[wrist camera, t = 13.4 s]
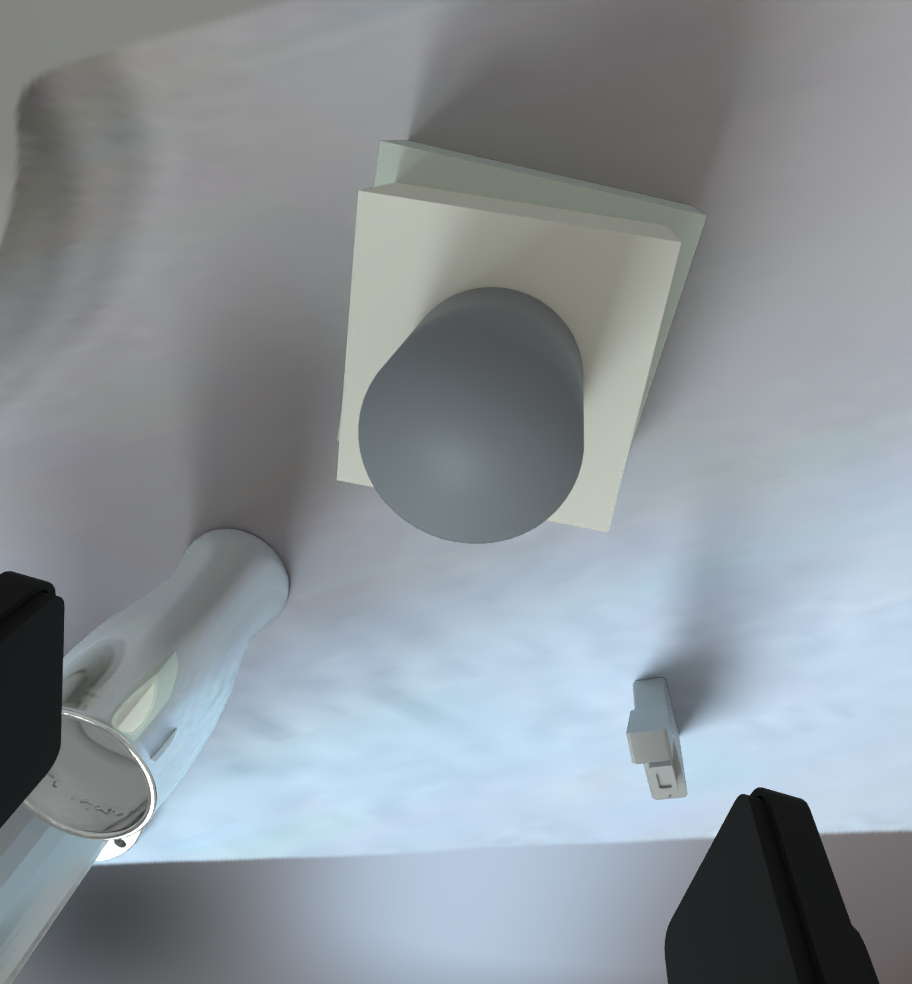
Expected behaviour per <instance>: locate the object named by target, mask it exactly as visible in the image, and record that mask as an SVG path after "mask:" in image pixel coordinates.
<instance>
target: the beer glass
mask: <svg viewBox="0 0 912 984" xmlns="http://www.w3.org/2000/svg"><path fill="white" fill-rule="evenodd" d="M288 592H289V579H288V575H287V571H286V569H285V566H284V564H283V562H282V561H281V559H280V558H279V556H278V555H277V554H276V552H275V551H274V550H273V549H272V548H271V547H270V546H269V545H268V544H266V543H265V542H264V541H262V540H261V539H259V538H258V537H256V536H254V535H252V534H250V533H247V532H244V531H241V530H236V529H216V530H212V531H209V532H206V533H204V534H202V535H201V536H199V537H198V538H196V539H195V540H194V541H193V542H192V543H191V544H190V546H189V547H188V548H187V550H186V551H185V553H184V555H183V556H182V558H181V560H180V562H179V564H178V566H177V568H176V569H175V571H174V572H173V574H172V575H171V576H170V577H169V578H168V579H167V580H166V581H165V582H164V583H163V584H161V585H160V586H158V587H157V588H155V589H154V590H152V591H151V592H149V593H148V594H146V595H144V596H143V597H141V598H140V599H138V600H136V601H135V602H133V603H132V604H130V605H128V606H127V607H125V608H124V609H122V610H121V611H119V612H118V613H116V614H115V615H113V616H112V617H110V618H109V619H108V620H106V621H105V622H104V623H102V624H101V625H99V626H98V627H97V628H95V629H94V630H93V631H91V632H90V633H89V634H88V635H87V636H86V637H84V638H83V639H82V640H81V641H80V642H79V643H78V644H77V645H76V646H75V647H73V648H72V649H71V650H70V651H69V652H68V653H67V654H66V655H65V656H64V657H63V686H62V726H61V747H60V751H59V754H58V756H57V759H56V761H55V763H54V765H53V766H52V768H51V769H50V771H49V772H48V773H47V774H46V776H45V777H44V778H43V779H42V780H41V782H40V783H39V784H38V785H37V786H36V787H35V789H34V790H33V791H32V792H31V793H30V794H29V796H28V797H27V798H26V799H25V800H24V801H23V803H22V804H21V805H22V806H23V807H24V808H26V809H27V810H28V811H29V812H30V813H32V814H33V815H34V816H36V817H37V818H38V819H40V820H41V821H43V822H45V823H46V824H48V825H50V826H52V827H54V828H56V829H58V830H60V831H62V832H65V833H67V834H70V835H73V836H77V837H80V838H85V839H91V840H101V841H107V840H117V839H122V838H126V837H128V836H131V835H133V834H135V833H137V832H139V831H140V830H141V829H143V828H144V827H145V826H146V825H147V824H148V823H149V821H150V820H151V818H152V817H153V815H154V813H155V812H156V810H157V809H158V808H159V807H160V805H161V804H162V803H163V801H164V800H165V799H166V798H167V796H168V795H169V794H170V793H171V791H172V790H173V789H174V788H175V786H176V785H177V784H178V782H179V781H180V780H181V778H182V777H183V776H184V774H185V773H186V772H187V770H188V769H189V768H190V766H191V765H192V763H193V762H194V760H195V759H196V758H197V756H198V755H199V753H200V752H201V750H202V749H203V747H204V746H205V744H206V742H207V740H208V739H209V737H210V735H211V734H212V732H213V730H214V729H215V727H216V725H217V723H218V721H219V719H220V717H221V715H222V712H223V710H224V708H225V706H226V704H227V701H228V699H229V697H230V694H231V691H232V689H233V686H234V683H235V681H236V678H237V675H238V672H239V670H240V667H241V664H242V661H243V658H244V656H245V653H246V651H247V648H248V646H249V644H250V643H251V641H252V639H253V638H254V637H255V635H256V634H257V633H258V632H259V631H260V630H261V629H262V628H263V627H264V626H265V625H266V624H267V623H269V622H270V621H271V620H272V619H273V618H274V617H275V616H276V615H277V614H278V613H279V612H280V611H281V610H282V608H283V607H284V605H285V603H286V600H287V597H288Z"/></svg>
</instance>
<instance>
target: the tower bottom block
mask: <svg viewBox="0 0 912 984" xmlns="http://www.w3.org/2000/svg"><path fill="white" fill-rule="evenodd" d="M394 182H396V183H402V184H409V185H415V186H421V187H428V188H434V189H440V190H447V191H453V192H459V193H465V194H472V195H478V196H484V197H491V198H497V199H503V200H510V201H516V202H522V203H529V204H535V205H541V206H548V207H554V208H560V209H566V210H573V211H579V212H585V213H592V214H598V215H604V216H611V217H617V218H623V219H630V220H636V221H642V222H649V223H655V224H661V225H667V226H668V228H669V229H670V230H671V231H672V232H673V233H674V234H675V235H676V237H677V238H678V239H679V240H680V241H681V246H680V250H679V254H678V258H677V262H676V266H675V270H674V274H673V278H672V282H671V286H670V290H669V294H668V298H667V302H666V306H665V310H664V314H663V318H662V322H661V326H660V329H659V333H658V337H657V341H656V345H655V349H654V353H653V357H652V361H651V365H650V369H649V373H648V377H647V381H646V385H645V389H644V393H643V397H642V401H641V405H640V409H639V413H638V417H637V421H636V425H635V429H634V433H633V437H632V441H631V445H632V442H633V439H634V436H635V433H636V430H637V427H638V424H639V421H640V418H641V415H642V412H643V409H644V406H645V403H646V400H647V397H648V394H649V391H650V388H651V385H652V381H653V378H654V375H655V372H656V369H657V366H658V363H659V360H660V357H661V354H662V351H663V348H664V345H665V342H666V339H667V336H668V333H669V330H670V327H671V324H672V321H673V318H674V315H675V312H676V308H677V305H678V302H679V299H680V296H681V293H682V290H683V287H684V284H685V281H686V278H687V275H688V272H689V269H690V266H691V263H692V260H693V257H694V254H695V251H696V248H697V245H698V242H699V238H700V235H701V232H702V229H703V226H704V223H705V220H706V217H707V215H705V214H704V213H702V212H701V211H699V210H698V209H696V208H695V207H693V206H692V205H687V204H683V203H679V202H674V201H670V200H666V199H661V198H657V197H653V196H648V195H644V194H639V193H635V192H631V191H626V190H622V189H618V188H613V187H609V186H605V185H600V184H596V183H591V182H587V181H583V180H578V179H574V178H570V177H565V176H561V175H556V174H552V173H548V172H543V171H539V170H535V169H530V168H526V167H522V166H517V165H513V164H508V163H504V162H500V161H495V160H491V159H487V158H482V157H478V156H474V155H469V154H465V153H460V152H456V151H452V150H447V149H443V148H439V147H434V146H430V145H426V144H421V143H417V142H412V141H408V140H393V141H380V146H379V153H378V160H377V166H376V173H375V180H374V187H376V186H381V185H385V184H389V183H394ZM341 414H342V409H341ZM340 428H341V416H340V422H339V429H338V436H337V441H338V442H339V441H340ZM631 445H630V448H631ZM629 451H630V449H629ZM628 455H629V453H628ZM627 458H628V456H627ZM626 461H627V460H626Z"/></svg>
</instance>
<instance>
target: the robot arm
mask: <svg viewBox="0 0 912 984" xmlns="http://www.w3.org/2000/svg"><path fill="white" fill-rule="evenodd" d="M63 646H64V601H63V599H62V598H61V597H59V596H56V594H55V588H54V586H53V584H51V583H49V582H47V581H43V580H40V579H36V578H33V577H29V576H26V575H22V574H19V573H15V572H12V571H8V572H4V573H2V574H0V984H11V983H12V981H13V979H14V978H15V977H16V975H17V974H18V972H19V971H20V969H21V968H22V967H23V965H24V964H25V962H26V961H27V959H28V958H29V956H30V955H31V953H32V952H33V951H34V949H35V948H36V946H37V944H38V943H39V942H40V940H41V939H42V937H43V936H44V935H45V933H46V931H47V930H48V929H49V927H50V926H51V924H52V923H53V921H54V920H55V919H56V917H57V916H58V914H59V913H60V911H61V910H62V908H63V907H64V905H65V904H66V902H67V901H68V899H69V898H70V896H71V895H72V894H73V892H74V891H75V889H76V888H77V886H78V885H79V884H80V882H81V881H82V879H83V878H84V876H85V875H86V873H87V872H88V870H89V869H90V867H91V866H92V865H93V863H94V862H95V861H104V860H107V859H111V858H114V857H117V856H119V855H121V854H123V853H125V852H126V851H128V850H129V849H130V848H131V847H132V846H133V845H134V844H135V843H136V842H137V841H138V839H139V838H140V836H141V835H142V833H143V831H144V830H145V828H146V826H147V825H146V826H145V827H144V828H143V829H141V830H140V831H139V832H137V833H135V834H133V835H131V836H128V837H126V838H122V839H117V840H107V841H101V840H91V839H85V838H80V837H77V836H73V835H70V834H67V833H65V832H62V831H60V830H58V829H56V828H54V827H52V826H50V825H48V824H46V823H45V822H43V821H41V820H40V819H38V818H37V817H36V816H34V815H33V814H32V813H30V812H29V811H28V810H27V809H26V808H24V807H23V806H22V805H21V804H22V803H23V801H24V800H25V799H26V798H27V797H28V796H29V794H30V793H31V792H32V791H33V790H34V789H35V787H36V786H37V785H38V784H39V783H40V782H41V780H42V779H43V778H44V777H45V776H46V774H47V773H48V772H49V771H50V769H51V768H52V766H53V765H54V763H55V761H56V759H57V756H58V754H59V751H60V747H61V726H62V686H63ZM665 961H666V969H667V978H668V984H879V981H878V978H877V976H876V973H875V970H874V968H873V965H872V962H871V959H870V957H869V954H868V951H867V949H866V946H865V944H864V942H863V940H862V938H861V936H860V934H859V932H858V931H857V930H856V929H855V928H854V927H853V926H852V925H851V922H850V919H849V916H848V913H847V911H846V908H845V905H844V903H843V899H842V897H841V894H840V891H839V888H838V886H837V883H836V880H835V877H834V874H833V872H832V869H831V866H830V863H829V861H828V858H827V855H826V852H825V850H824V847H823V844H822V841H821V838H820V836H819V833H818V830H817V827H816V824H815V822H814V819H813V816H812V813H811V811H810V808H809V806H808V804H807V803H806V802H805V801H804V800H803V799H800V798H797V797H793V796H790V795H786V794H783V793H779V792H776V791H772V790H769V789H766V788H759V787H758V788H757V789H755V790H754V791H753V792H752V793H751V795H750V796H749V795H745V794H741V795H740V796H738V797H737V799H736V800H735V802H734V804H733V806H732V808H731V809H730V811H729V813H728V815H727V817H726V819H725V821H724V823H723V824H722V826H721V828H720V830H719V832H718V834H717V836H716V837H715V839H714V841H713V843H712V845H711V847H710V849H709V850H708V852H707V854H706V856H705V858H704V860H703V862H702V863H701V865H700V867H699V869H698V871H697V873H696V875H695V876H694V878H693V880H692V882H691V884H690V886H689V888H688V889H687V891H686V893H685V895H684V897H683V899H682V901H681V903H680V904H679V906H678V908H677V910H676V912H675V914H674V915H673V917H672V919H671V921H670V923H669V926H668V929H667V932H666V938H665Z"/></svg>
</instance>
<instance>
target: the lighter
mask: <svg viewBox="0 0 912 984" xmlns="http://www.w3.org/2000/svg"><path fill="white" fill-rule="evenodd" d="M633 693H634V706H635V710H632V711H631V712H630V717H629V722H628V727H627V732H626V734H627V739H628V743H629V748H630V753H631V758H632V763H634V764H641V763H643V764H644V768H645V771H646V775H647V779H648V783H649V787H650V790H651V794H652V798H654V799H656V800H661V799H671V798H681V797H685V796H686V795H687V787H686V780H685V774H684V767H683V760H682V753H681V746H680V740H679V734H678V729H677V725H676V721H675V717H674V713H673V708H672V704H671V700H670V696H669V692H668V688H667V683H666V679H664V678H662V677H660V678H653V679H646V680H639V681H635V682H634V683H633Z"/></svg>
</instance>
